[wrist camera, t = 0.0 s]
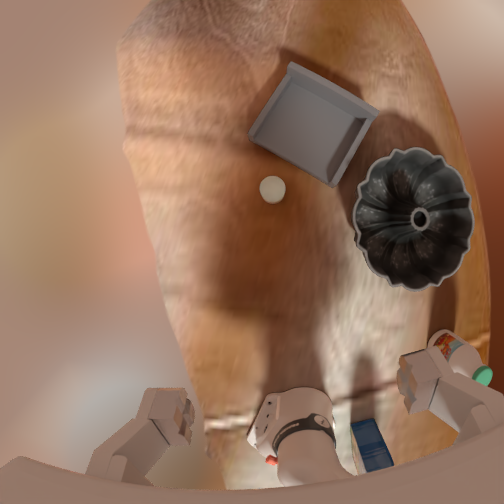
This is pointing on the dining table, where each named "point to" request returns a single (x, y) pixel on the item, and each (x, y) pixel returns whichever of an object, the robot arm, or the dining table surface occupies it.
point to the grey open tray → (313, 124)
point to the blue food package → (369, 447)
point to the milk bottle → (461, 356)
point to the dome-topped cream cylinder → (272, 189)
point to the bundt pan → (413, 218)
